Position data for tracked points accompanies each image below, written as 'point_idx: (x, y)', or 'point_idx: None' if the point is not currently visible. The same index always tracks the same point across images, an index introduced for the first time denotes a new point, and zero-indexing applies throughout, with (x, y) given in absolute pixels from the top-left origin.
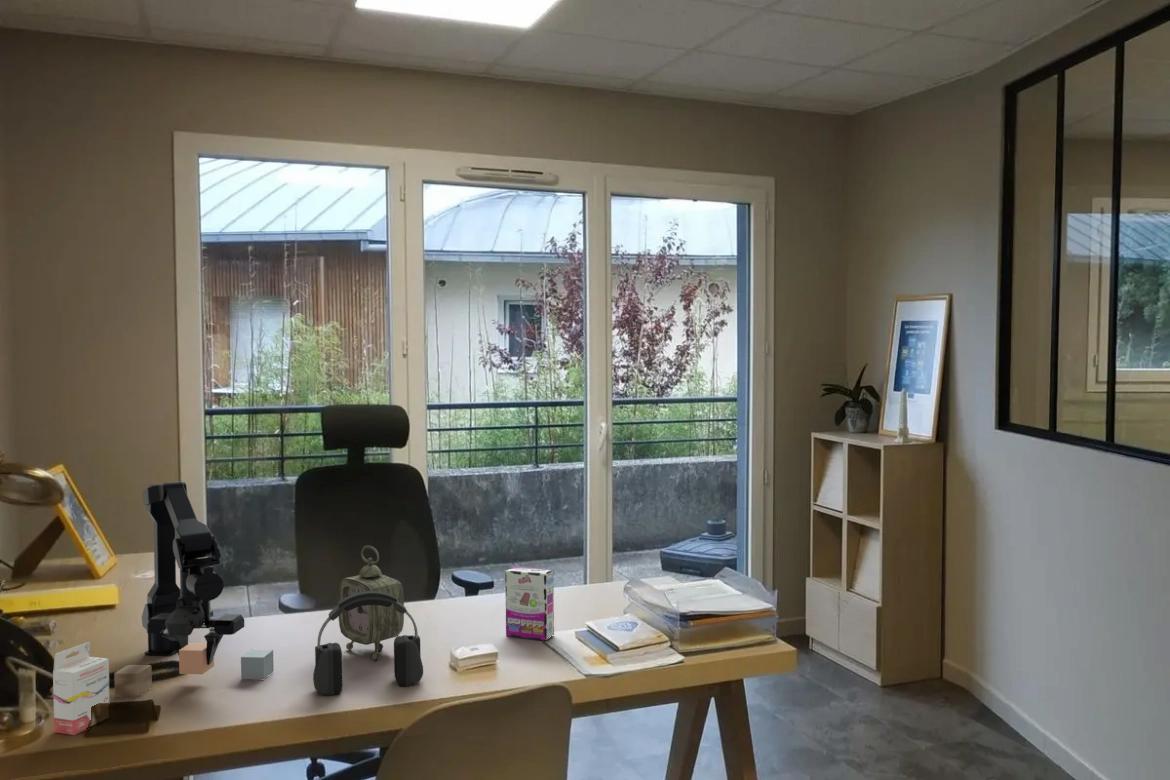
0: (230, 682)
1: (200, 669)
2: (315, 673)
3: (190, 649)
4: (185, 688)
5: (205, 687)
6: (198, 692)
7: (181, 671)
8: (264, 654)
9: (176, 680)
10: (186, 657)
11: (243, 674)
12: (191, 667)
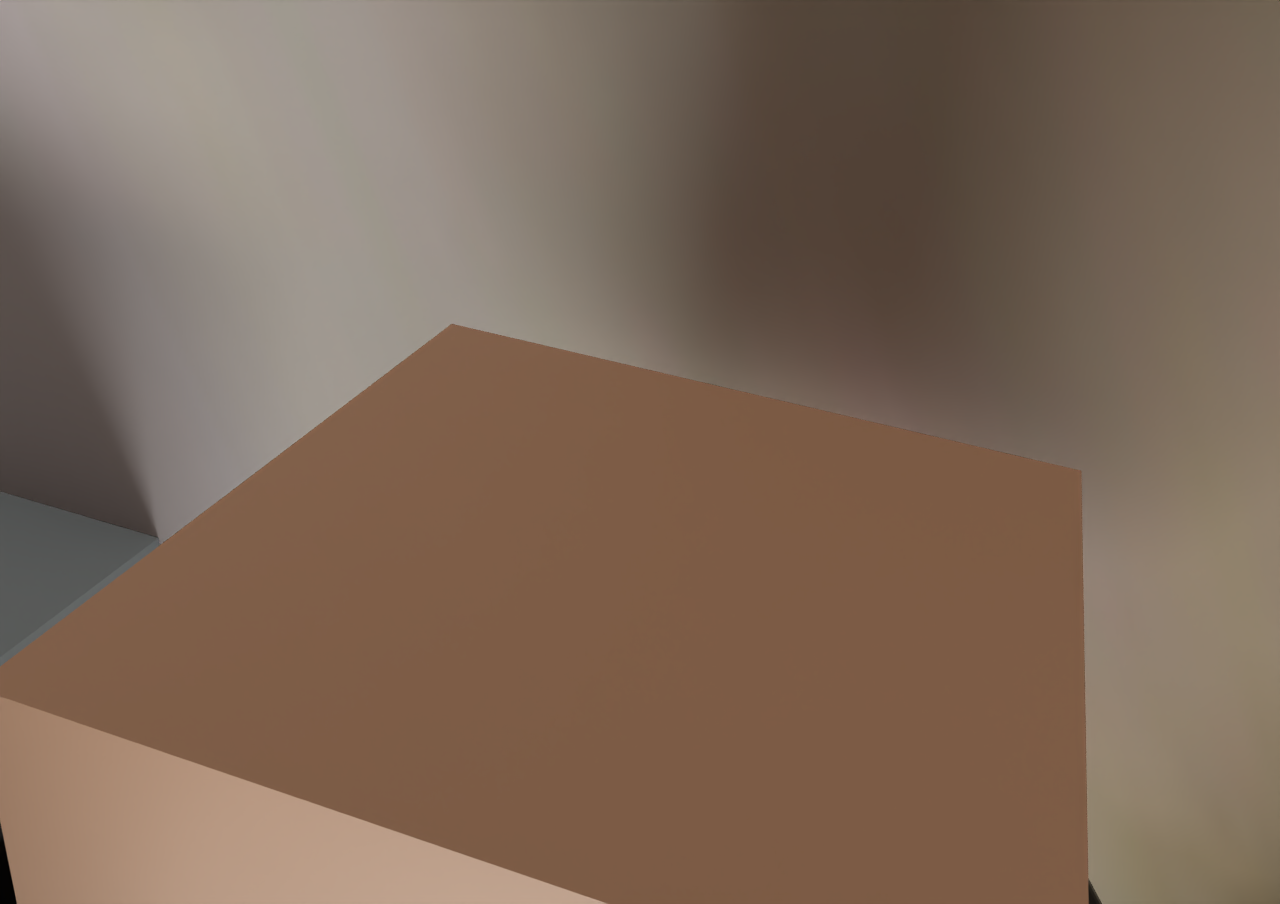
0: (255, 457)
1: (448, 385)
2: None
3: None
4: (946, 297)
5: (562, 291)
6: (594, 18)
7: (1015, 489)
8: None
9: (1256, 767)
10: (762, 702)
11: (67, 572)
12: (681, 469)
